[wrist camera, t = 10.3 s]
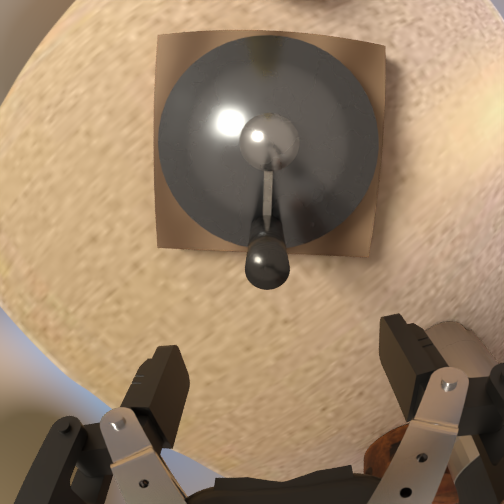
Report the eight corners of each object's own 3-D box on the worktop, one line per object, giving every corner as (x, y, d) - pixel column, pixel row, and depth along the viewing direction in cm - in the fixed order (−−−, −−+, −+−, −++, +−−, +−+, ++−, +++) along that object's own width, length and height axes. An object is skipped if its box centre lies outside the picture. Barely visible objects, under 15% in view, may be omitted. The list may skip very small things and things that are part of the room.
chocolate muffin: (451, 386, 35) (498, 485, 19) (448, 446, 42) (475, 521, 25) (335, 432, 39) (350, 543, 22) (360, 480, 45) (372, 559, 29)
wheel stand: (375, 52, 22) (385, 45, 20) (360, 247, 29) (368, 257, 26) (166, 42, 22) (157, 34, 20) (165, 238, 29) (157, 248, 27)
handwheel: (166, 45, 20) (122, 11, 12) (373, 51, 20) (421, 21, 12) (168, 239, 26) (130, 287, 18) (361, 245, 26) (399, 295, 18)
